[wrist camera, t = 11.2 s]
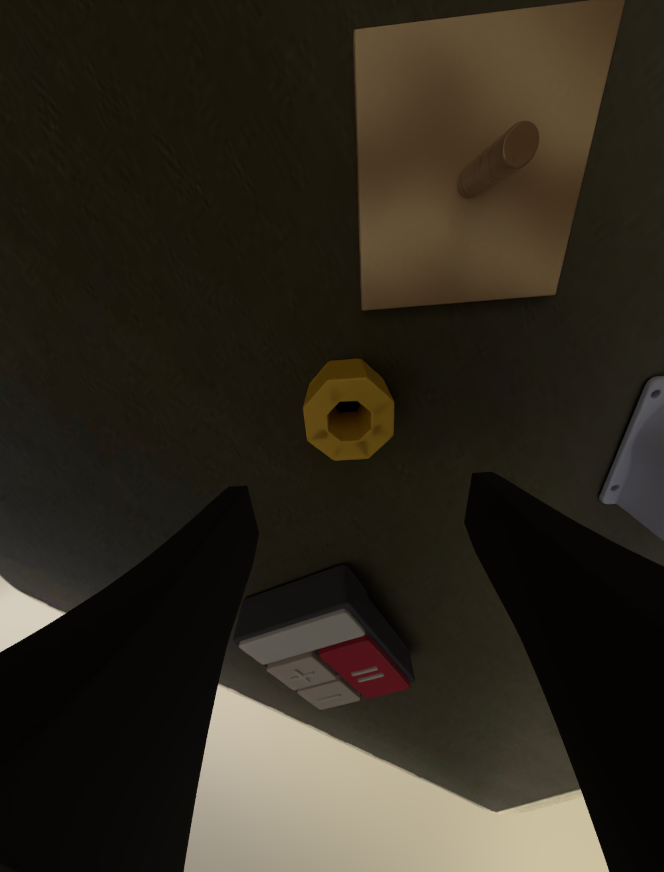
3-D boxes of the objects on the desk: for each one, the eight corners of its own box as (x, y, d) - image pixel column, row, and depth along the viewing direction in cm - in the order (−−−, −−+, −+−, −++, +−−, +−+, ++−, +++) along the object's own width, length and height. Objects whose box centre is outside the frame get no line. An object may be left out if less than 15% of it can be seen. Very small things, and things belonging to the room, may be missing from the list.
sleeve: (383, 426, 20) (393, 457, 16) (314, 430, 20) (309, 462, 17) (383, 356, 18) (395, 375, 14) (306, 362, 18) (299, 382, 15)
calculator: (318, 715, 31) (227, 651, 24) (319, 667, 35) (240, 599, 28) (419, 692, 29) (349, 613, 22) (408, 642, 32) (345, 562, 26)
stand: (546, 294, 16) (625, 299, 12) (360, 309, 17) (370, 320, 12) (609, 12, 12) (776, -152, 7) (352, 43, 12) (362, -94, 8)
